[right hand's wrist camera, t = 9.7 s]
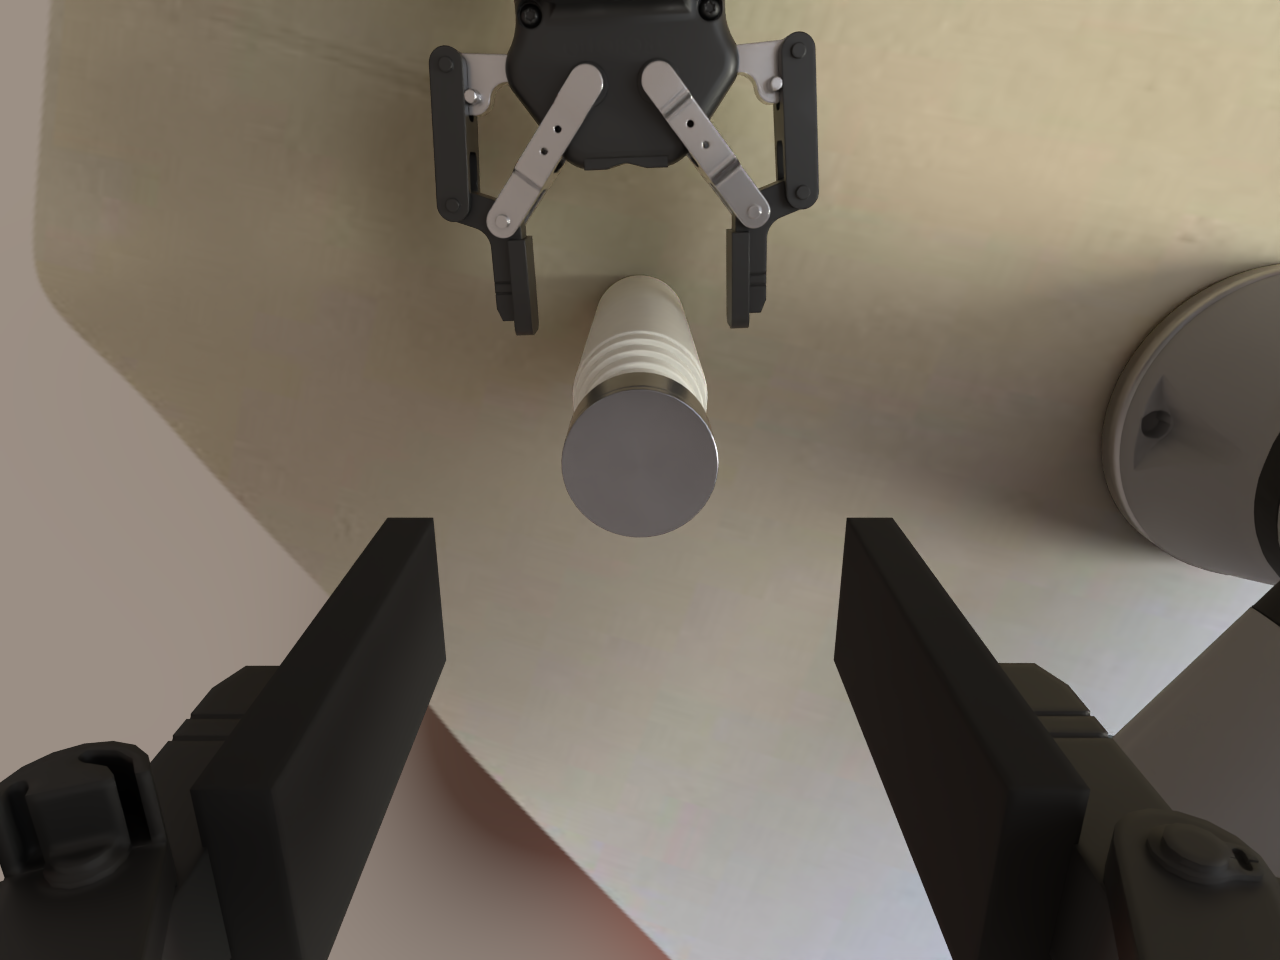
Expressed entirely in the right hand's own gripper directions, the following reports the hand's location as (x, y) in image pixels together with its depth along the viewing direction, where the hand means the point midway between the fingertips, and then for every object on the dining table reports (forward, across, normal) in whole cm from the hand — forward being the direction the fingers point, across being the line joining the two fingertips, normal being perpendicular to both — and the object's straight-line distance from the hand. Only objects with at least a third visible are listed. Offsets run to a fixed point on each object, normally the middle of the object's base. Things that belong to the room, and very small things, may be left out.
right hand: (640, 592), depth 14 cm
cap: (+7, 0, 0) cm, 7 cm away
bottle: (+28, 0, 0) cm, 28 cm away
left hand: (+22, 0, +1) cm, 22 cm away
